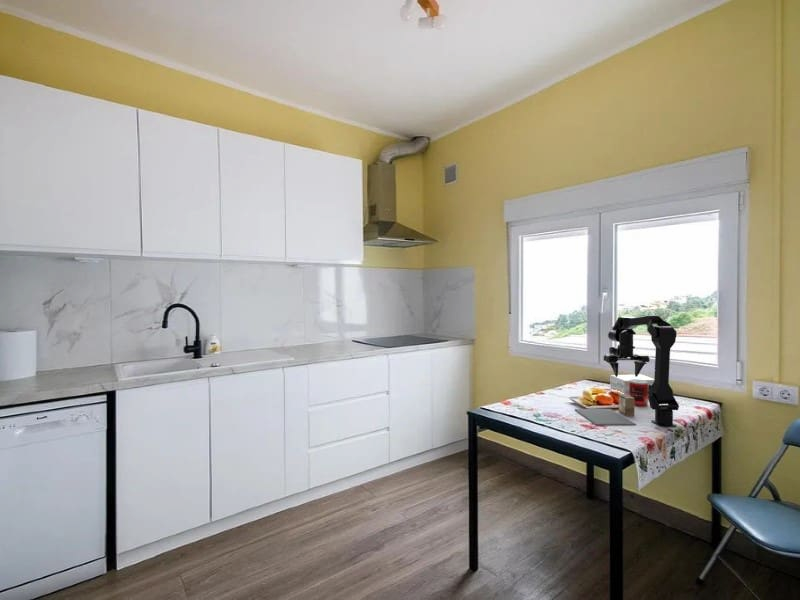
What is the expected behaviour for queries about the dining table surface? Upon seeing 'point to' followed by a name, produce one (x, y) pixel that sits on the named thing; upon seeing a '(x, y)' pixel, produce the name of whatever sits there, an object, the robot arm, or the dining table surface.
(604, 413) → the mat
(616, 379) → the supplement box
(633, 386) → the canned food
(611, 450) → the dining table surface
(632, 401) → the block
